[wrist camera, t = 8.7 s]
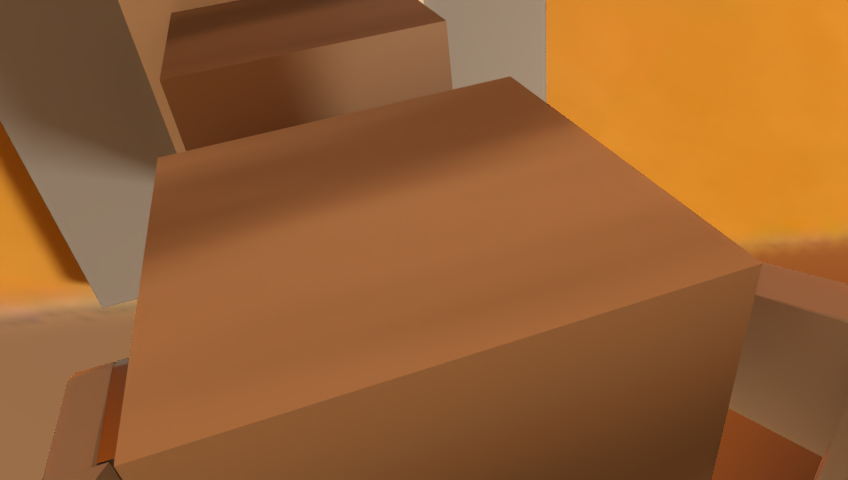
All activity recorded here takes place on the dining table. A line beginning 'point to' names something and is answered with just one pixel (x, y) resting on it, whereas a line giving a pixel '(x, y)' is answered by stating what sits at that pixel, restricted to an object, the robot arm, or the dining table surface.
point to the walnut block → (296, 63)
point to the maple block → (429, 305)
